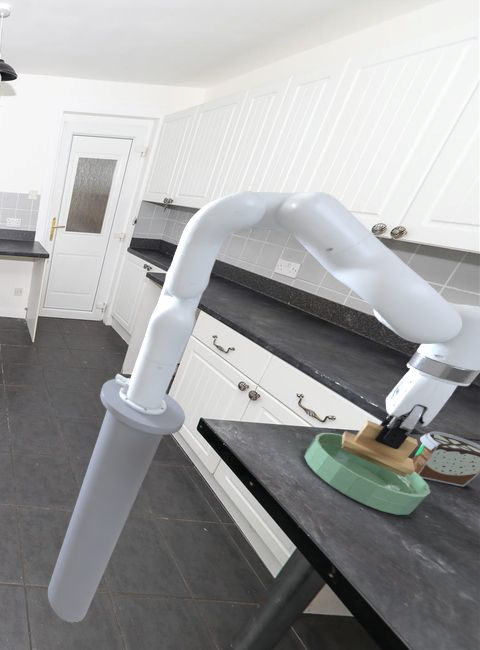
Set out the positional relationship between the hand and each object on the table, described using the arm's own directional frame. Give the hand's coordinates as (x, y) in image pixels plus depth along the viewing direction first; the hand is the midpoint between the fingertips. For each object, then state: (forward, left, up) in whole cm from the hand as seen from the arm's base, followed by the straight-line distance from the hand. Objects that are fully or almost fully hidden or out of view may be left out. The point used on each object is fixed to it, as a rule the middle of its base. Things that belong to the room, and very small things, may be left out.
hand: (385, 440), depth 70 cm
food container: (+12, +21, -12) cm, 27 cm away
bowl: (0, 0, -12) cm, 12 cm away
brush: (0, 0, -5) cm, 5 cm away
